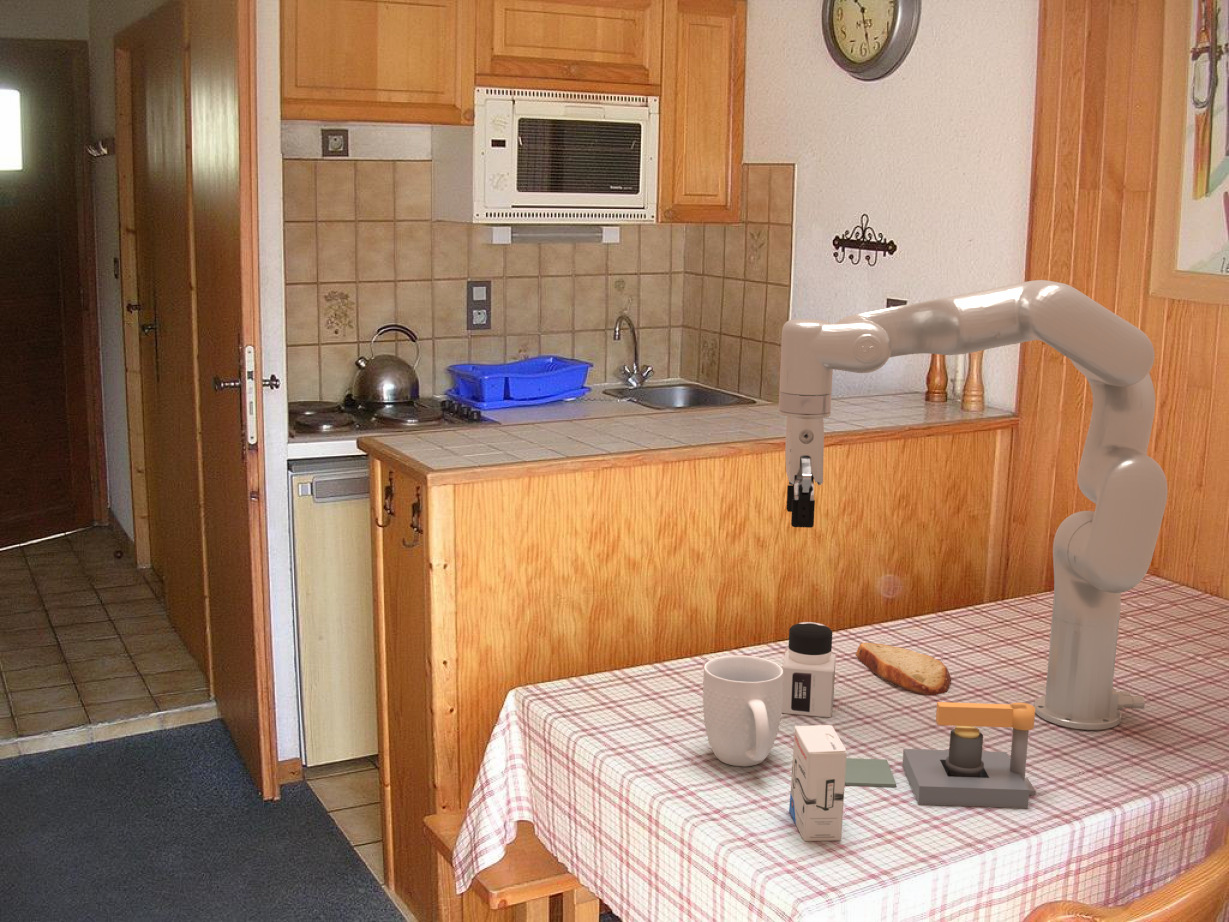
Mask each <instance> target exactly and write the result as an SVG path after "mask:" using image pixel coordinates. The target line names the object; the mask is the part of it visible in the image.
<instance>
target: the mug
mask: <svg viewBox="0 0 1229 922" xmlns="http://www.w3.org/2000/svg"><path fill="white" fill-rule="evenodd" d="M702 685H703V686H702V708H703V714H702V715H703V723H704V728H705V733H706V736H707V741H708V744H709V746H710V748H711V750H712V751H713V754H714V756H716V759H718V760H719V761H720V762H722V763H724V764H727V765H729V766H734V767H752V766H756V765H759V764H761V763H762V762H764V760H765V759H766V758H767V757H768V755H769V754H770V752H771V750H772V748H773V746H774V745H775V742H776V739H777V735H778V732H779V730H780V729H779V727H780V724H781V717H782V714H783V713H782V701H783V700H782V698H783V669H782V666H780V665H779V664H777V663H776V662H774V661H773V660H769V659H767V658H765V657H764V658H762V657H758V656H752V655H739V654H738V655H737V654H736V655H724V656H720V657H719V656H718V657H715V658H712V659H710V660H708V661H706V663H705V664H704V667H703V684H702Z"/></svg>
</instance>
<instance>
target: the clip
mask: <svg viewBox="0 0 1229 922" xmlns="http://www.w3.org/2000/svg"><path fill="white" fill-rule="evenodd" d="M1035 717H1036V713H1035V707H1034V705H1032V704H1030V703H1027V702H1011V704H1010V703H1009V704H1008V703H980V702H979V703H978V702H949V701H948V702H947V701H946V702H945V701H944V702H943V701H942V702H941V701H937V702H936V713H935V722H936V724H937V726H947V727H948V726H951V727H952V726H953V727H954V726H955V727H956V726H973V727H976V728H977V727H979V728H980V727H981V728H982V727H984V728H1012V729H1013V728H1014V729H1018V730H1029V731H1031V730H1033V729H1034V728H1035Z"/></svg>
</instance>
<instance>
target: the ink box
mask: <svg viewBox="0 0 1229 922" xmlns="http://www.w3.org/2000/svg"><path fill="white" fill-rule="evenodd" d="M793 731H794V733H793V747H792V749H793V751H792V764H791V766H792V767H791V781H790V783H791V784H790V791H789V792H790V795H789V808H788V809H789V810H788V811H789V814H790V816H791V817H792V820H793V821H794V824H795V825H796V828H797V829H798V832H799V833H800V836H801V839H802V840H803V841H804V842H826V841H827V842H828V841H842V834H843V832H842V831H843V830H842V829H843V814H844V800H845V787H846V785H845V770H846V758H847V748H846V747H845V745H844V744H843V742H842V741H841V739H840V736H839V735H838V734H837V731H836V729H835V728H834V726H833V725H831V724H818V725H815V724H814V725H795V726H794V730H793Z"/></svg>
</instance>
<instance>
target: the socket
mask: <svg viewBox="0 0 1229 922" xmlns="http://www.w3.org/2000/svg"><path fill="white" fill-rule="evenodd" d="M1029 731H1030V730H1018V729H1014V728H1012V734H1011V746H1010V747H1011V748H1010V749H1011V750H1010V756H1009V754H1008V752H1007V751H987V750H986V751H984V750H982V759H981V760H982V761H983V763H984V769H983V771H981V773H980V778H977V777H948V767H947V766H946V758H947V757H948V756H949V749H928V748H927V749H924V748H922V749H921V748H920V749H919V748H903V752H902V768H903V771H904V773H905V774H906V775H905V776H906V778H907V780H908V783H909V785H910V787H911V790H912V792H913V795H914V797H915V800H916V802H917V805H927V806H928V805H931V806H932V805H934V806H957V807H958V806H960V807H987V808H989V807H990V808H1014V809H1029V802H1030V796H1036V793H1037V792H1036V791H1037V790H1036V789H1035V788H1034V786H1033V784H1032V783H1031V781H1030V779H1029V778H1028V777H1026V768H1027V756H1028V745H1029V744H1028V743H1029Z"/></svg>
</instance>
